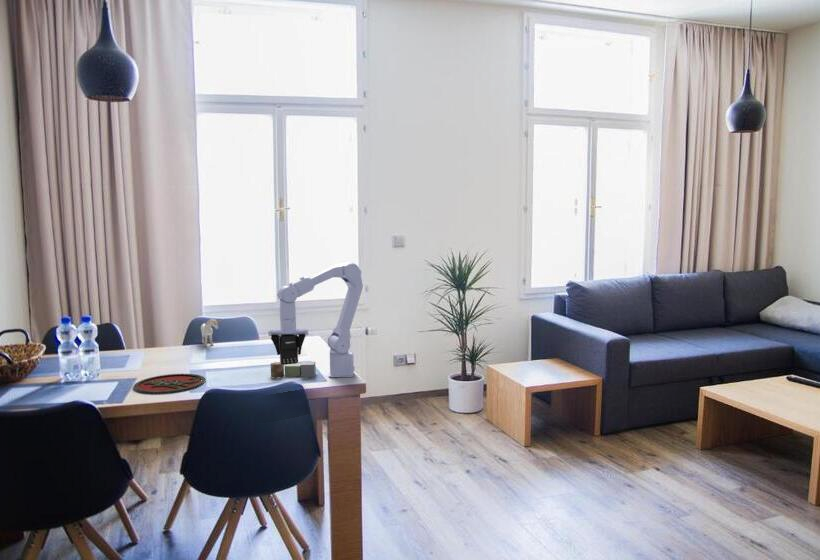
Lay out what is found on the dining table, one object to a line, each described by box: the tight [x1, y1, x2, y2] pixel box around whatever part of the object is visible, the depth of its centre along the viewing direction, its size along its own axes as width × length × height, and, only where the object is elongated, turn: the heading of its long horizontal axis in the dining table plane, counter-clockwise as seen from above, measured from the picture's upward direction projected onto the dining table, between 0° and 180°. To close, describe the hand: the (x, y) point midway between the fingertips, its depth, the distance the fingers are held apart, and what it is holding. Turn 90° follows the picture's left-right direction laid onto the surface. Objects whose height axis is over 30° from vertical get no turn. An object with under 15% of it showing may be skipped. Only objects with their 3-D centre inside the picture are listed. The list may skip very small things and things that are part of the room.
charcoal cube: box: [300, 361, 317, 378], centre depth 240 cm, size 5×5×5 cm
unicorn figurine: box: [200, 318, 226, 347], centre depth 298 cm, size 7×20×13 cm, turn 46°
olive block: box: [284, 363, 302, 377], centre depth 242 cm, size 6×4×4 cm, turn 86°
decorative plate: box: [133, 373, 207, 395], centre depth 230 cm, size 25×1×25 cm
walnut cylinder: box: [270, 361, 285, 379], centre depth 240 cm, size 5×5×5 cm
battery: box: [279, 333, 299, 366], centre depth 231 cm, size 7×4×11 cm, turn 115°
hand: (289, 354), depth 231 cm, fingers closed on battery, 7 cm apart
